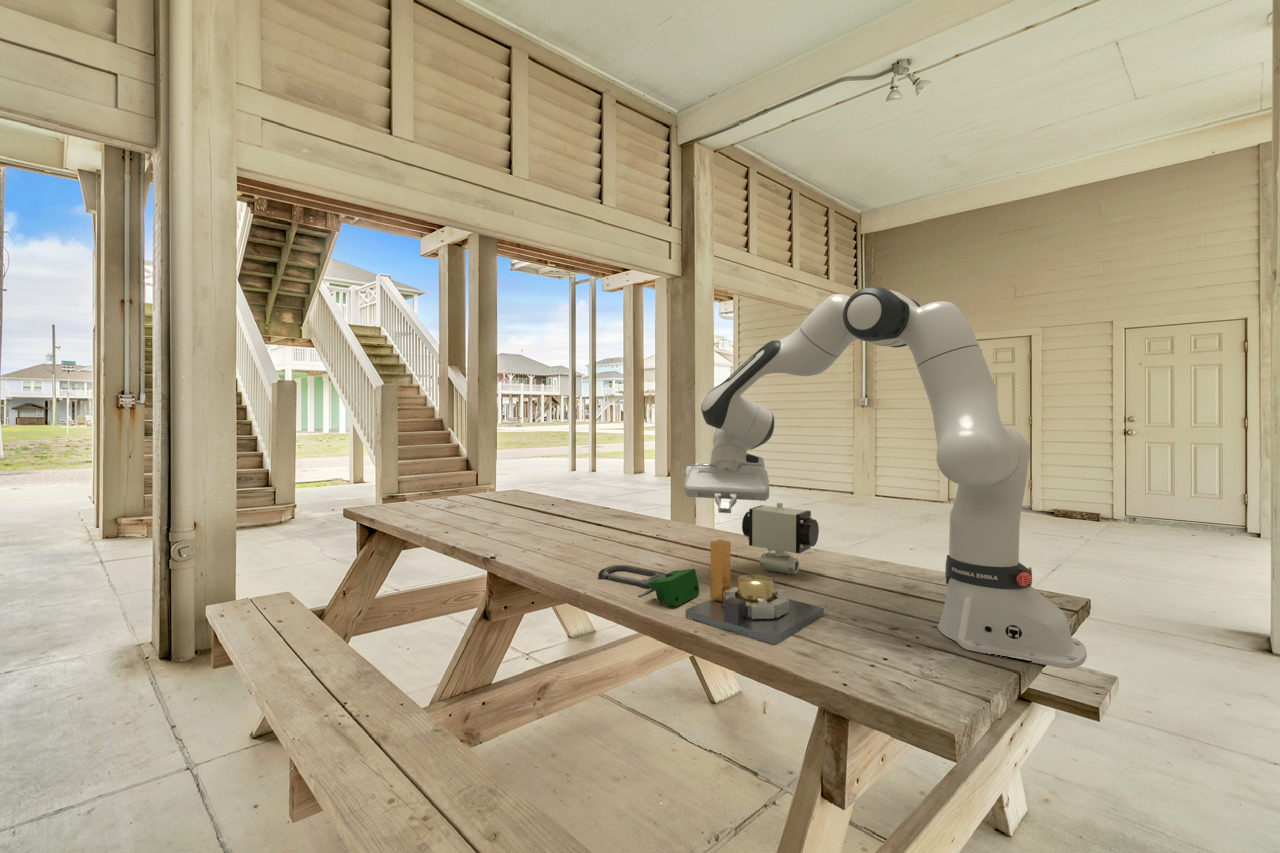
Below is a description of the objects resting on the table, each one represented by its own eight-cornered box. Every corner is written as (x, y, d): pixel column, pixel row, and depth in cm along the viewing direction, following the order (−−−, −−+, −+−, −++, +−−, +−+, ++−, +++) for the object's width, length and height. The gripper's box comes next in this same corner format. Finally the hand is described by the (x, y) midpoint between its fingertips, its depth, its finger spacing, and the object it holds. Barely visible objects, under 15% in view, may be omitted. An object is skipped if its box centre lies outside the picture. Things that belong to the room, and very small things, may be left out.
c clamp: (685, 582, 141) (685, 571, 141) (640, 600, 127) (640, 588, 127) (623, 567, 154) (623, 557, 154) (576, 582, 140) (576, 571, 140)
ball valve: (820, 573, 146) (821, 504, 145) (808, 582, 139) (808, 509, 138) (755, 562, 157) (756, 497, 156) (741, 569, 150) (741, 501, 149)
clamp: (676, 612, 131) (677, 572, 134) (699, 611, 127) (699, 570, 131) (645, 605, 122) (647, 562, 126) (668, 604, 119) (669, 560, 123)
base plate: (824, 615, 117) (824, 578, 117) (774, 645, 102) (774, 603, 102) (740, 593, 130) (740, 560, 130) (685, 617, 116) (685, 580, 115)
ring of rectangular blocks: (797, 606, 117) (798, 548, 116) (766, 623, 107) (766, 560, 107) (730, 589, 127) (731, 535, 127) (696, 603, 118) (697, 545, 118)
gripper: (685, 455, 143) (679, 501, 134) (770, 458, 138) (769, 506, 129) (687, 471, 147) (681, 516, 138) (769, 474, 143) (768, 521, 134)
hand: (724, 511), depth 134 cm, fingers closed
